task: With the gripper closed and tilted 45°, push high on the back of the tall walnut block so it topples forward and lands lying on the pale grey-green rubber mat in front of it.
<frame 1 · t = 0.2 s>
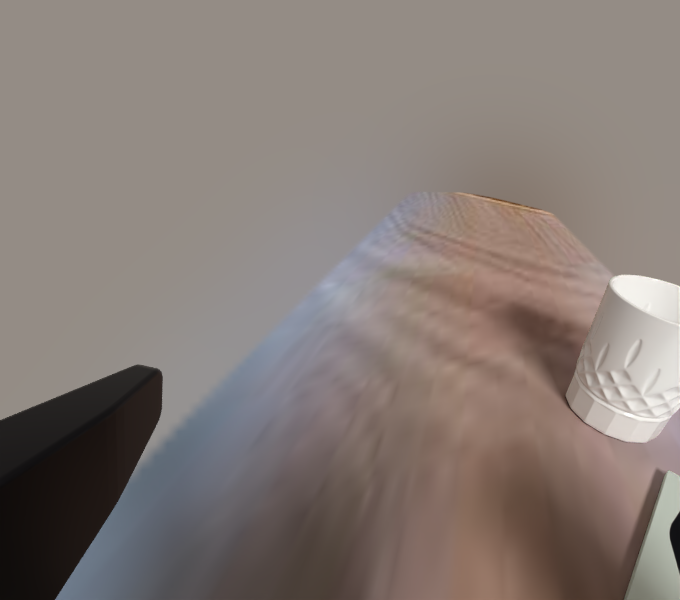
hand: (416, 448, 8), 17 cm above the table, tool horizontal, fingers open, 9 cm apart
white cup: (608, 414, 38), on the table
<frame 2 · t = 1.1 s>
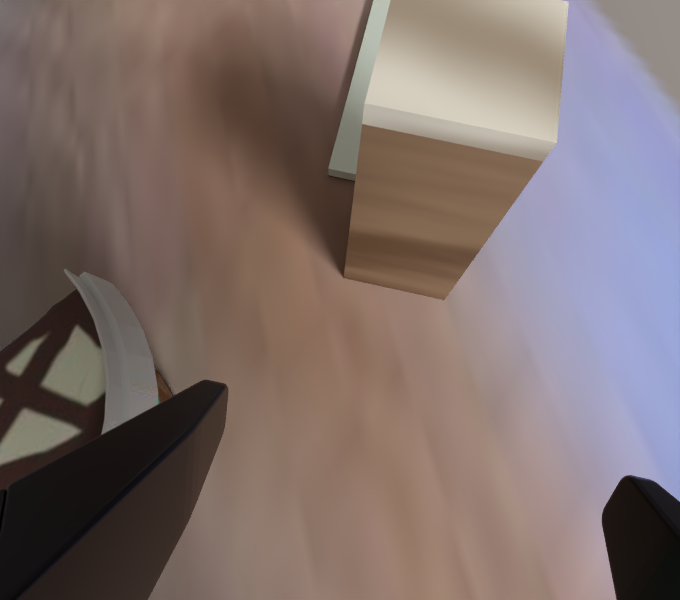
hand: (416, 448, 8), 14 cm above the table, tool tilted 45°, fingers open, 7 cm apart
walnut block: (402, 243, 25), on the table
food container: (116, 501, 20), on the table
rubber mat: (432, 89, 28), on the table
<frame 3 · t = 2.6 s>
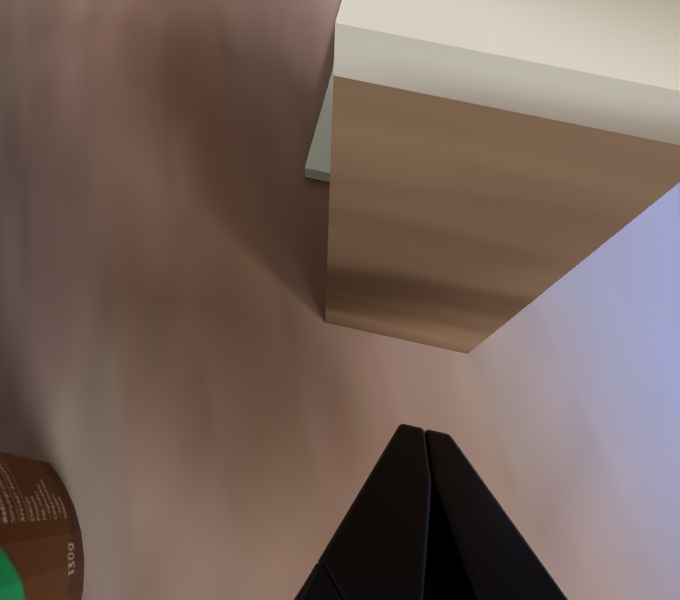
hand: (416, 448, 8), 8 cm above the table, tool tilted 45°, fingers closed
walnut block: (408, 272, 18), on the table
rubber mat: (446, 61, 21), on the table
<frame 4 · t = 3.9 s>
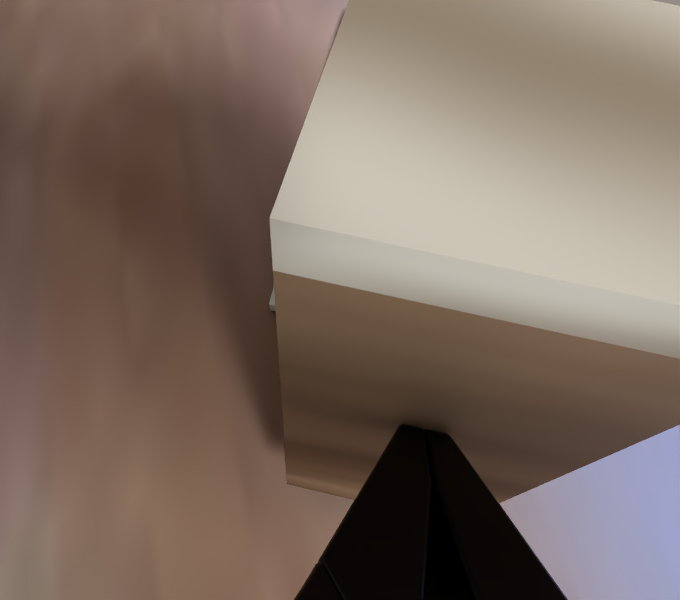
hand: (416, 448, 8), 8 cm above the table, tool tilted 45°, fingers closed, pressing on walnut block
walnut block: (383, 421, 16), on the table, tilted 11°, touching gripper
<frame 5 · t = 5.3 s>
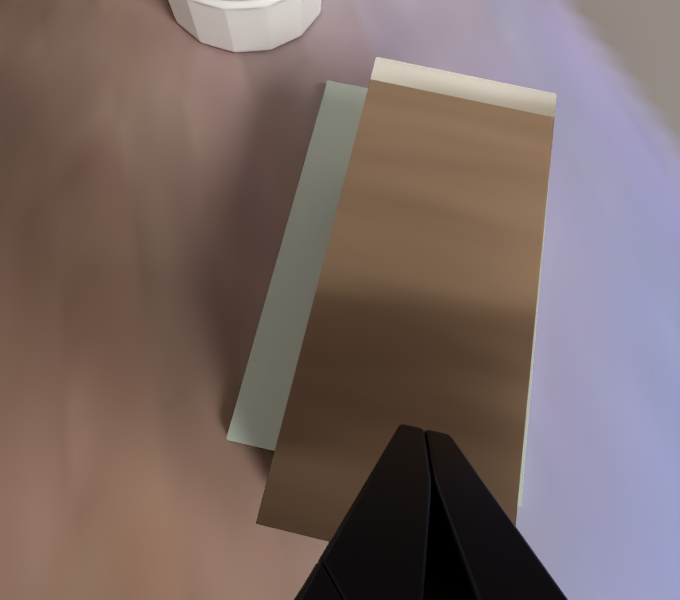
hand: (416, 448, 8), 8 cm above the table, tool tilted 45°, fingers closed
walnut block: (369, 537, 12), point 3 cm above the table, tilted 90°, touching rubber mat
rubber mat: (407, 269, 18), on the table
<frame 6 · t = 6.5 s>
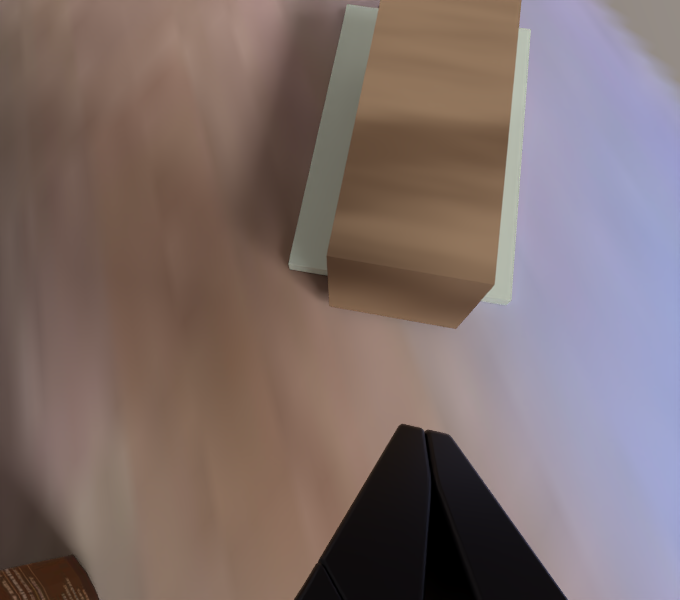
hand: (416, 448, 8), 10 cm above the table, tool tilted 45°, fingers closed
walnut block: (399, 297, 17), point 3 cm above the table, tilted 90°, touching rubber mat
rubber mat: (418, 144, 22), on the table
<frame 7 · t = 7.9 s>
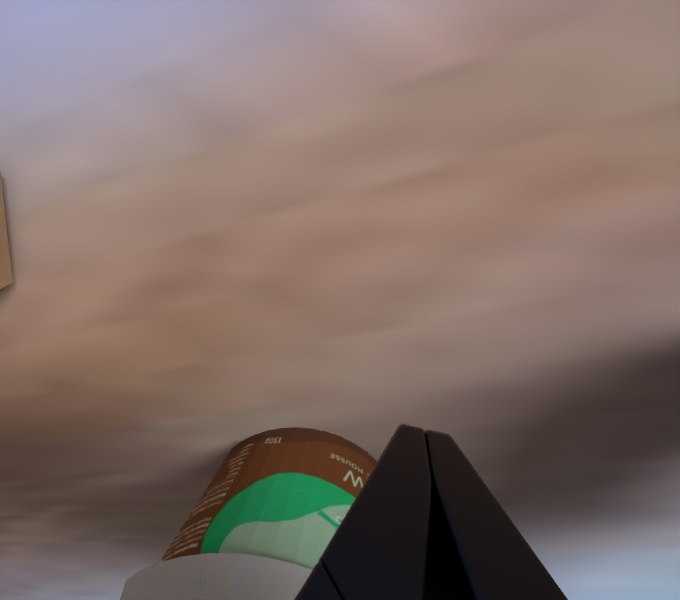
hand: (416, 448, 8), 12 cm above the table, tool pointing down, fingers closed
food container: (340, 468, 25), on the table
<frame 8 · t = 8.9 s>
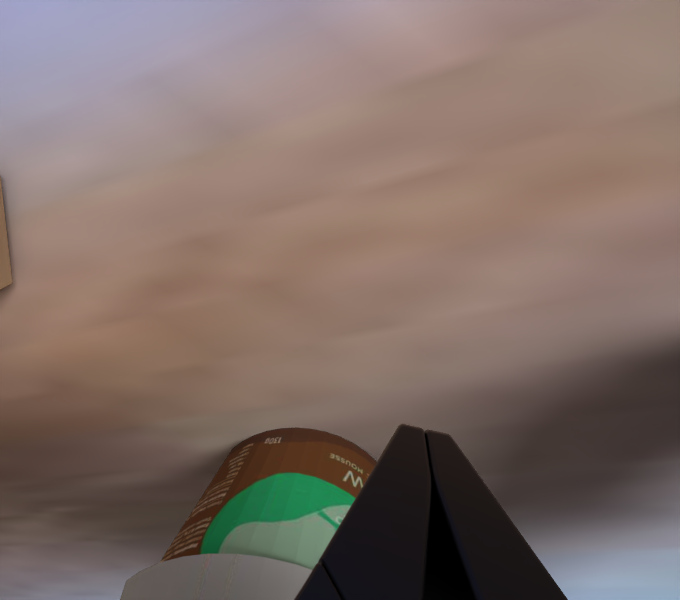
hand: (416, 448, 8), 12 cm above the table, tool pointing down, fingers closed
food container: (340, 468, 25), on the table
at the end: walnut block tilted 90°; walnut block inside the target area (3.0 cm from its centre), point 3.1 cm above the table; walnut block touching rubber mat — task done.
